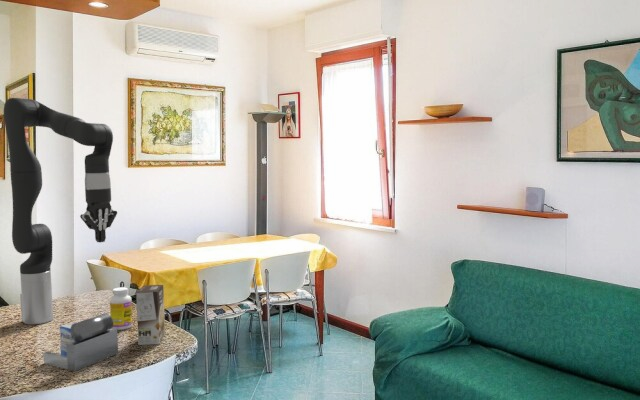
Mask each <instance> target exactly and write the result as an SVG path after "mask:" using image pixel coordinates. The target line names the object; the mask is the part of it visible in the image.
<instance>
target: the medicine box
mask: <svg viewBox="0 0 640 400" xmlns="http://www.w3.org/2000/svg"><path fill="white" fill-rule="evenodd" d="M74 323H75V322H70V323H66V324H62V325H60V326H59V340H60V341H59V342H60V346H59V347H60V354H61V355H65V356H67V346H66V344H67V343H69V342H72V341H75V340H74V339H73V338H72V336H71V332H70V329H71V326H72V325H73V324H74Z"/></svg>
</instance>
